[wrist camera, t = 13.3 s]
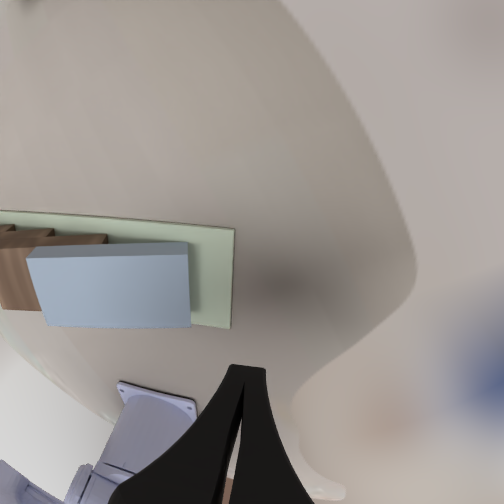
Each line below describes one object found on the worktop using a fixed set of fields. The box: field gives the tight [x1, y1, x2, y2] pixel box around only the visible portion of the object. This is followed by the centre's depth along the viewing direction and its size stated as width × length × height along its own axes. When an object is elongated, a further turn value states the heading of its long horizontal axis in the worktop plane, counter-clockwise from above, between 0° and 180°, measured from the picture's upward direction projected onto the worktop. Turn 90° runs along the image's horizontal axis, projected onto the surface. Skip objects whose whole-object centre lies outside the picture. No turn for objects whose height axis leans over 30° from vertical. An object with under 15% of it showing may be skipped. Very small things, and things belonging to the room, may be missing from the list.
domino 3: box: [26, 242, 191, 328], centre depth 16 cm, size 2×5×10 cm
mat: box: [0, 210, 235, 329], centre depth 19 cm, size 7×28×1 cm, turn 86°
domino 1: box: [0, 228, 55, 240], centre depth 17 cm, size 2×5×10 cm
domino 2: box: [0, 234, 109, 311], centre depth 16 cm, size 2×5×10 cm
